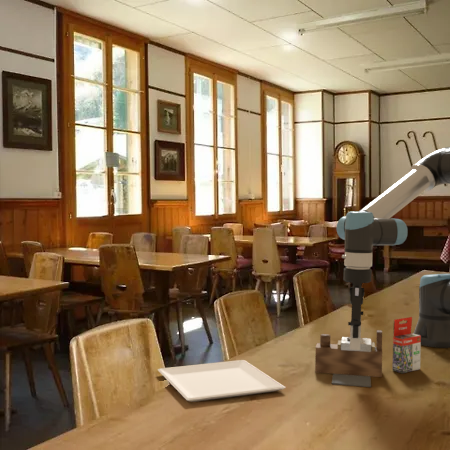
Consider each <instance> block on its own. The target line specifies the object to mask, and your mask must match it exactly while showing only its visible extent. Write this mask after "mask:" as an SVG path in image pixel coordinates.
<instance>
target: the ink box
mask: <svg viewBox="0 0 450 450" xmlns="http://www.w3.org/2000/svg"><path fill="white" fill-rule="evenodd" d="M403 321H405V322H403ZM400 322H403V323H400ZM412 323H413V317H412V316H409V317H403V318H397V319H394V320H393V335H392V366H391V367H392V371H393V372H396V373H398V374H399V373H400V374H405V373H408V372H409V373H410V372H413V371H419V370H421V351H422V350H421V348H422V347H421V346H422V345H421V335H416V334H413V333H412V327H413V326H412Z"/></svg>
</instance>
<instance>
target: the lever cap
mask: <svg viewBox="0 0 450 450" xmlns="http://www.w3.org/2000/svg"><path fill="white" fill-rule="evenodd" d="M371 346H372V339H371V338H367V337H363V338H362V337H361V339H360V350H352V349H350V336H342V337H341V350H348V351H364V352H371Z"/></svg>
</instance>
